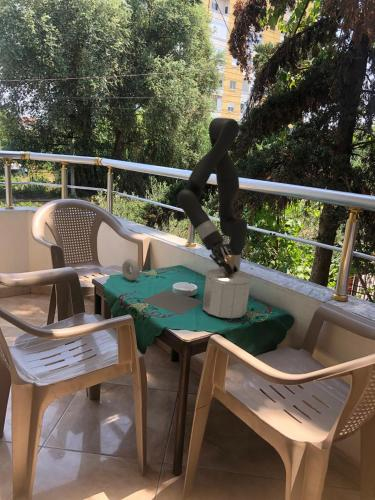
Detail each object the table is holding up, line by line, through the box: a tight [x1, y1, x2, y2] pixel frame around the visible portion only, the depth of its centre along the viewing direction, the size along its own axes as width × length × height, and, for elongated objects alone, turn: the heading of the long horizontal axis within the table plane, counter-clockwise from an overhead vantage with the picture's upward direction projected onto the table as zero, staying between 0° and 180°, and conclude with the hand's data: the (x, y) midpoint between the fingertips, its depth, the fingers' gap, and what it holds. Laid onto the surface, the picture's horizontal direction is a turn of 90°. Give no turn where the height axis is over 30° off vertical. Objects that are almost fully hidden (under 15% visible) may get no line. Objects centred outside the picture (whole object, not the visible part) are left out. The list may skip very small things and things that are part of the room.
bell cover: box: [202, 254, 251, 319], centre depth 156 cm, size 17×17×22 cm
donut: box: [121, 258, 140, 282], centre depth 184 cm, size 10×4×10 cm, turn 48°
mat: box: [140, 289, 203, 315], centre depth 164 cm, size 18×19×1 cm
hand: (233, 272), depth 154 cm, fingers closed on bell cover, 3 cm apart
